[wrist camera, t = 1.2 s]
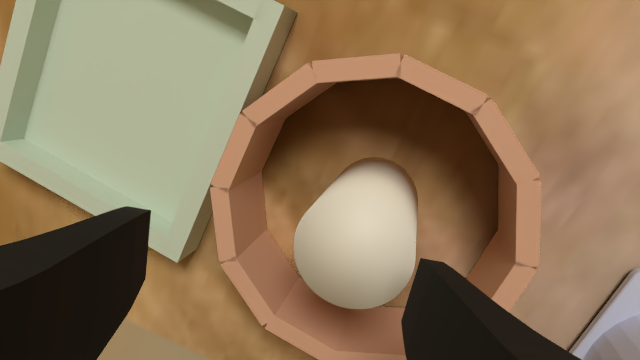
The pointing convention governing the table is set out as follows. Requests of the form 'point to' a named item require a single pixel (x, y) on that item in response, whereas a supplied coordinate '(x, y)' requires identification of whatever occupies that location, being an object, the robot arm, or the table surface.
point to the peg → (360, 236)
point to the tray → (134, 101)
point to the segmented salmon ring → (276, 271)
